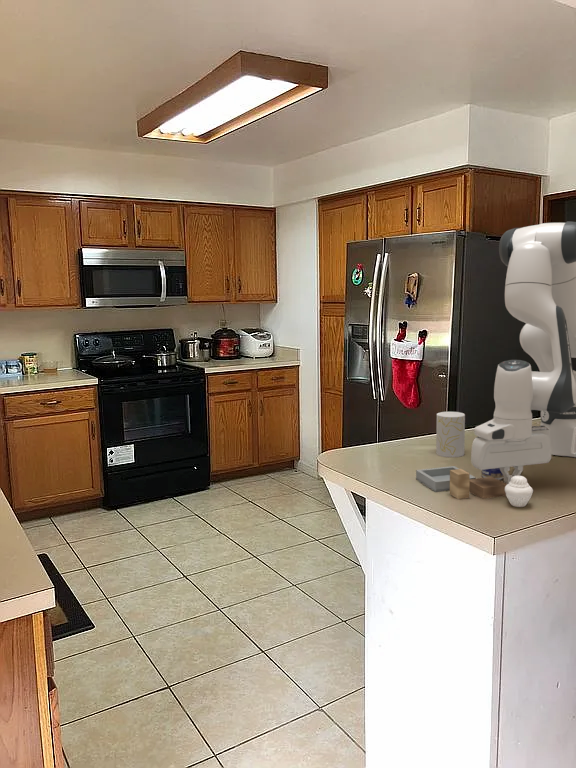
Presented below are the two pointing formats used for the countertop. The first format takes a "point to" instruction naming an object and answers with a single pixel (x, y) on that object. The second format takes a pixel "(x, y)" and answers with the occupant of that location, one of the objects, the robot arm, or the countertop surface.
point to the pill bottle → (492, 473)
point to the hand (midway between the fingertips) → (510, 483)
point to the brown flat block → (487, 487)
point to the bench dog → (459, 483)
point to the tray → (436, 478)
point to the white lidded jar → (518, 491)
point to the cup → (450, 434)
